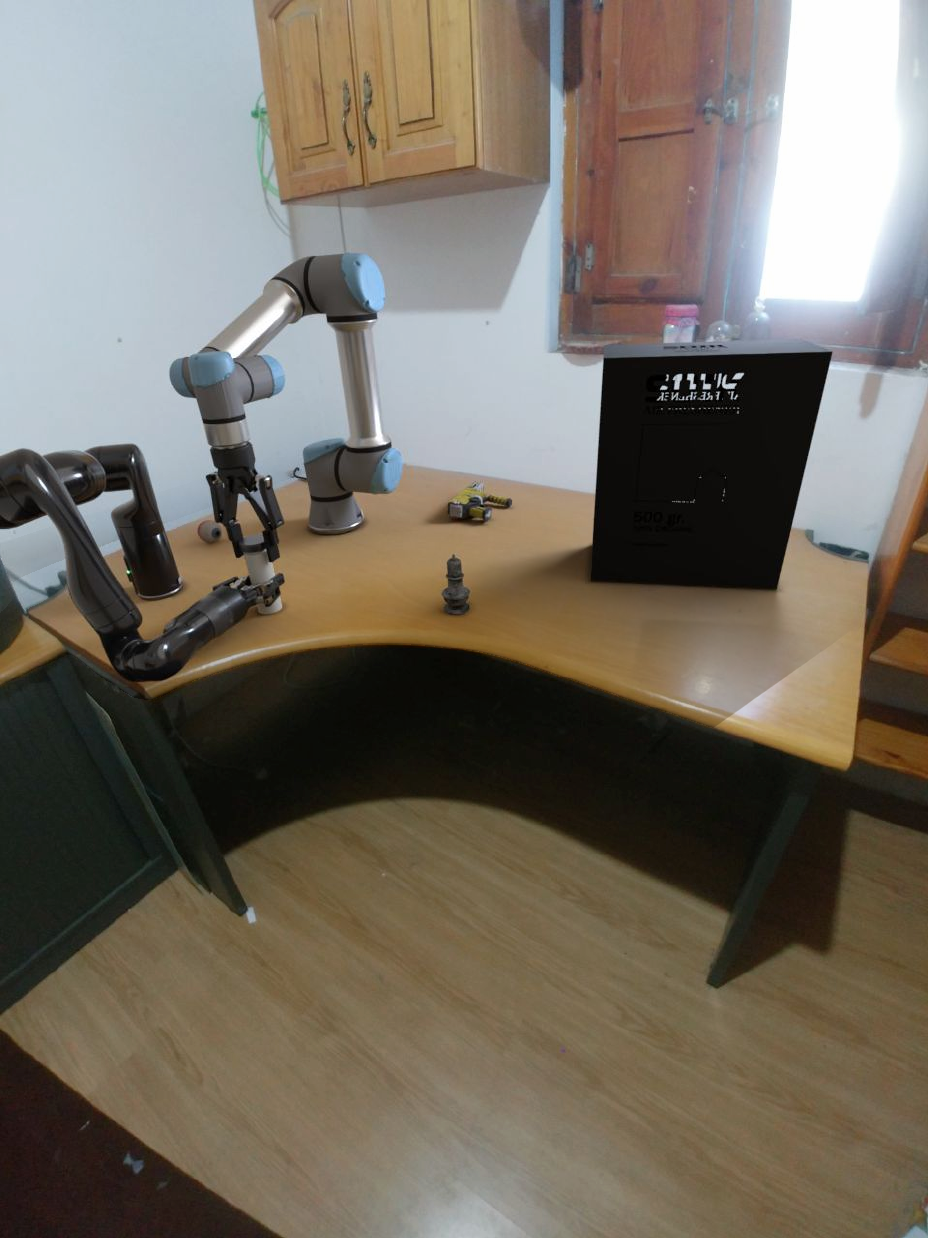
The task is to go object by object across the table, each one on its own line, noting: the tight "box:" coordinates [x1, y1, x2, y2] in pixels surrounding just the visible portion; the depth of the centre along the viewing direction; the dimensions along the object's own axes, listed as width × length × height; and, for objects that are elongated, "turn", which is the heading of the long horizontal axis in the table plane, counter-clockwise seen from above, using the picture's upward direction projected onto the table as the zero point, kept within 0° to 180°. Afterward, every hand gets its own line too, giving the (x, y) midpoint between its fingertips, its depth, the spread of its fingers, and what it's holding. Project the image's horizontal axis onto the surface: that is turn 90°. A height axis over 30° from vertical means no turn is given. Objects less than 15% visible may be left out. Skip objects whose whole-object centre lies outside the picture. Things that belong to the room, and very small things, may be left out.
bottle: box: [243, 549, 283, 615], centre depth 125 cm, size 5×5×15 cm
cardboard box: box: [589, 338, 834, 590], centre depth 125 cm, size 38×20×45 cm, turn 78°
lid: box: [239, 533, 266, 553], centre depth 121 cm, size 6×6×2 cm
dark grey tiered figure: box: [441, 553, 471, 615], centre depth 121 cm, size 6×6×12 cm
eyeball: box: [197, 519, 223, 544], centre depth 161 cm, size 6×6×6 cm
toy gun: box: [446, 480, 513, 523], centre depth 174 cm, size 5×24×15 cm
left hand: (271, 575), depth 127 cm, fingers closed on bottle, 5 cm apart
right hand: (257, 557), depth 122 cm, fingers open, 7 cm apart
